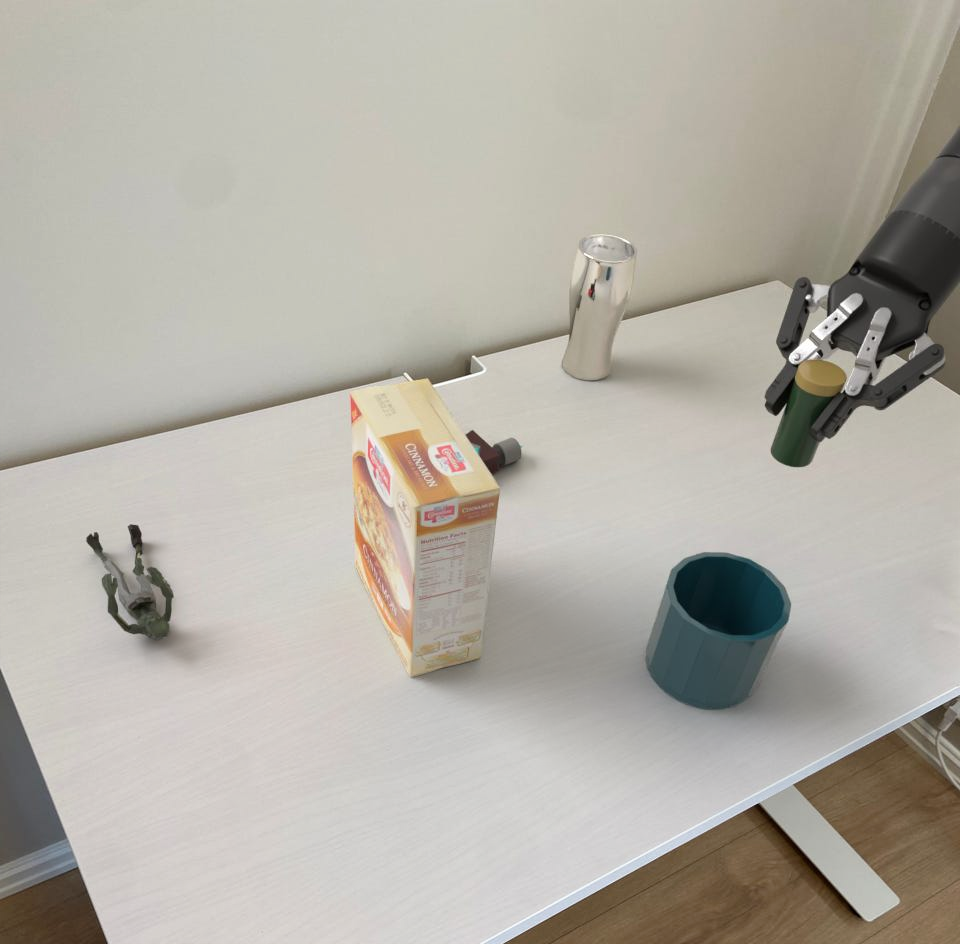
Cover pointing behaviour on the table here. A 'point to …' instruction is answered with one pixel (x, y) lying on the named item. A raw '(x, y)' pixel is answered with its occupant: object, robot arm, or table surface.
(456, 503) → the coffeecake box
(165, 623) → the zombie figurine
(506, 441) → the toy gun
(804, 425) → the tea tin
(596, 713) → the table surface
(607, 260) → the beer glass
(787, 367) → the robot arm
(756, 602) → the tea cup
